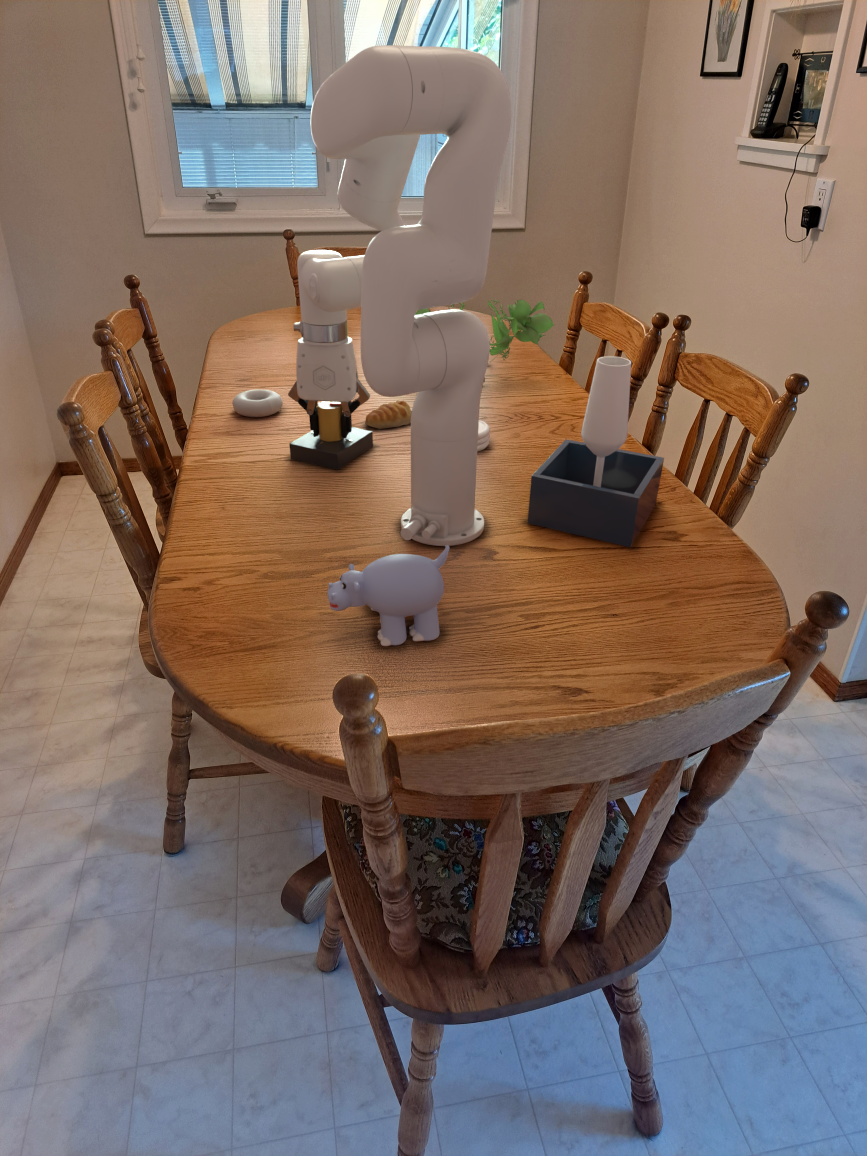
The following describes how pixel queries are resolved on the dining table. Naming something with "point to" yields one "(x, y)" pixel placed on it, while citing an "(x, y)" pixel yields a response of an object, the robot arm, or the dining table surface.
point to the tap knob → (329, 420)
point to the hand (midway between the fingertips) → (331, 433)
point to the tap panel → (331, 448)
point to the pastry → (390, 415)
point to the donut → (257, 403)
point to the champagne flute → (607, 410)
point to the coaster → (483, 435)
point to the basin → (595, 493)
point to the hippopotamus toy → (395, 594)
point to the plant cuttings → (514, 325)
